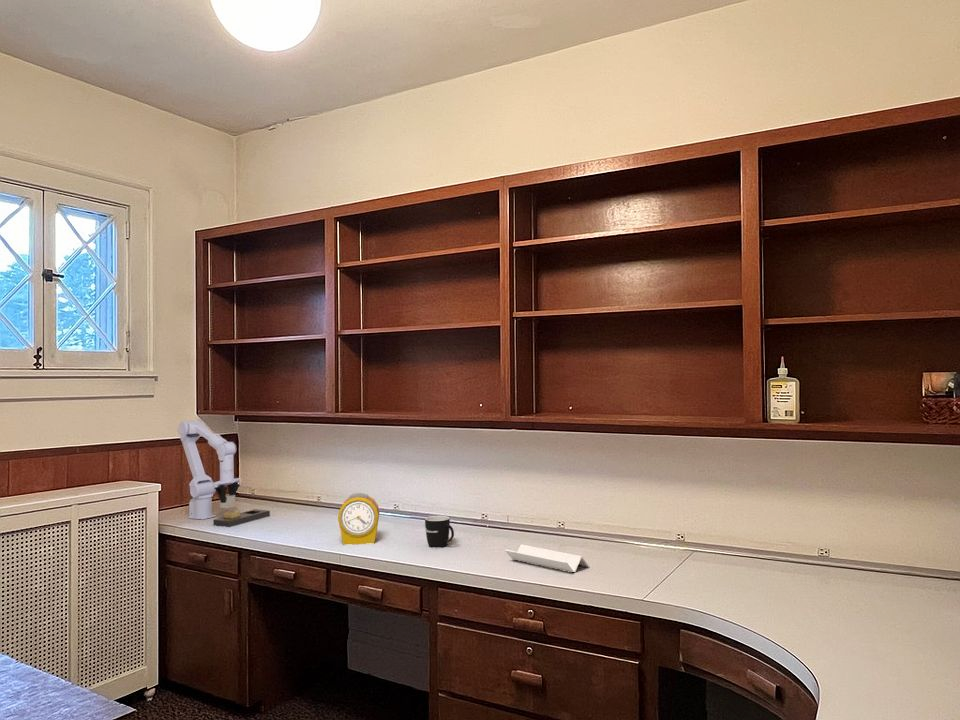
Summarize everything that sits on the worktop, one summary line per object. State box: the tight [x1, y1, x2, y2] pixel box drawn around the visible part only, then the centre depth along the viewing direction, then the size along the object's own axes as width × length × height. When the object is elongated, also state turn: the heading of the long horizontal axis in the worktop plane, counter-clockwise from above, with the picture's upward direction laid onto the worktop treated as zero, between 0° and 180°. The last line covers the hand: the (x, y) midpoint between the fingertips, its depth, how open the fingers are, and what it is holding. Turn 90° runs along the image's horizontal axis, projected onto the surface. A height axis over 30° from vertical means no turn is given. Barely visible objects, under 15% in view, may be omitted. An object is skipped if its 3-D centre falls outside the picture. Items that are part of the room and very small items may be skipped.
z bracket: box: [504, 544, 590, 573], centre depth 240 cm, size 12×25×6 cm
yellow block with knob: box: [223, 510, 241, 520], centre depth 314 cm, size 4×4×5 cm
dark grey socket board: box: [212, 508, 271, 528], centre depth 320 cm, size 9×24×2 cm, turn 153°
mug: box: [424, 515, 455, 548], centre depth 267 cm, size 12×9×10 cm
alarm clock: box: [337, 492, 380, 546], centre depth 277 cm, size 15×8×18 cm, turn 95°
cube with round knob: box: [219, 493, 236, 509], centre depth 319 cm, size 4×4×5 cm
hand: (227, 501), depth 319 cm, fingers closed on cube with round knob, 4 cm apart
